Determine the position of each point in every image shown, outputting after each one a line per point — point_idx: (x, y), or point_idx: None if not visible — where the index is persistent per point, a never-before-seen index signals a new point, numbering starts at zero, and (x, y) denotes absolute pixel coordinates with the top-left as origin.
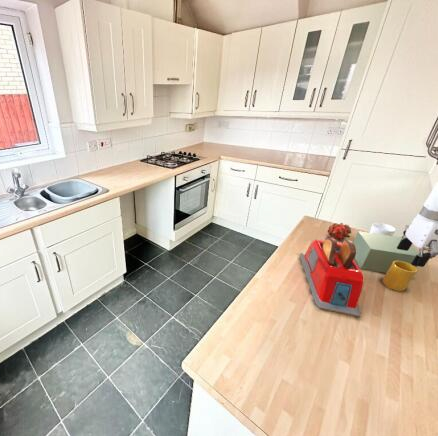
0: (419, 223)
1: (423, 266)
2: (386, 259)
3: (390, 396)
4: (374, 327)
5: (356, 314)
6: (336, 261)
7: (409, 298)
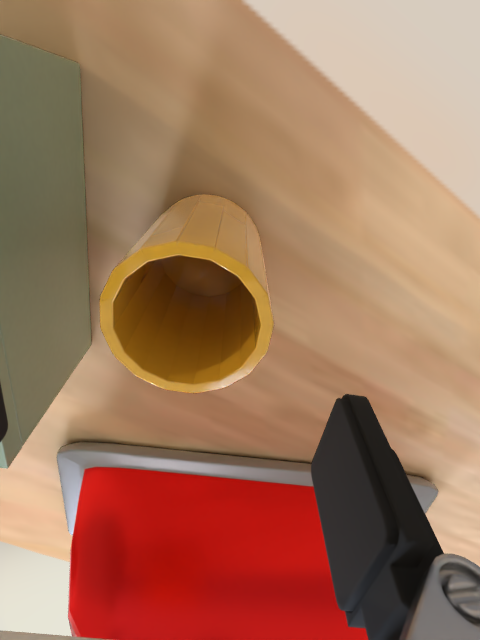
0: None
1: (366, 403)
2: (35, 308)
3: None
4: (477, 457)
5: (433, 499)
6: None
7: (320, 232)
